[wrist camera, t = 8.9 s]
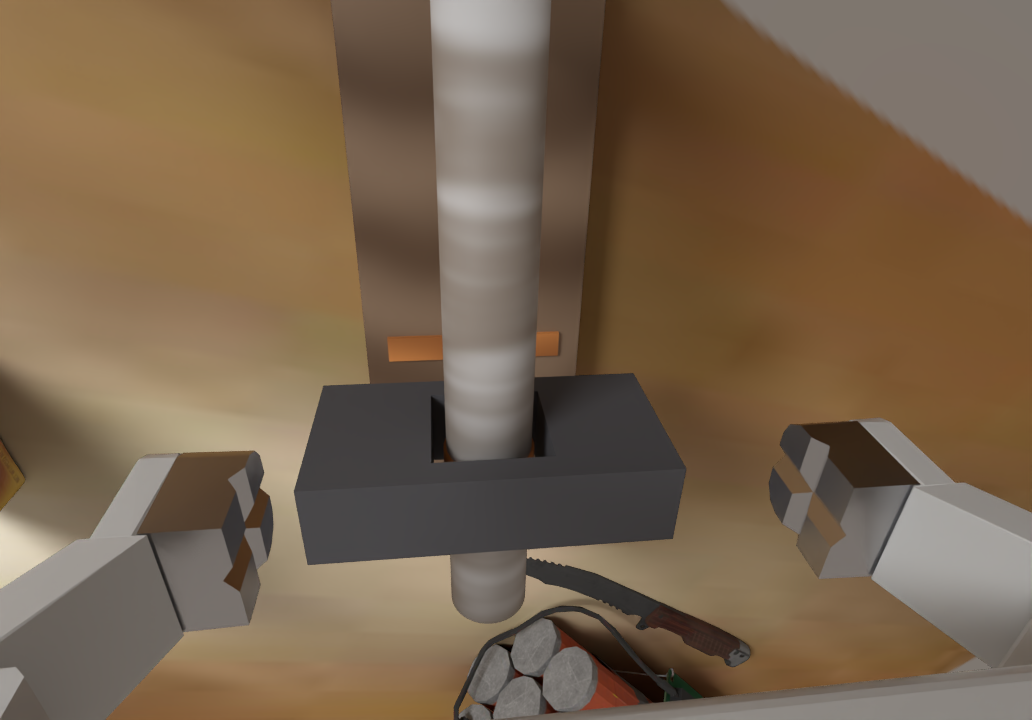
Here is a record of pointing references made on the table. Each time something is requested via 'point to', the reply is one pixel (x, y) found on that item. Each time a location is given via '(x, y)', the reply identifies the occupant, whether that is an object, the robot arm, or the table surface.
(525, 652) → the simulated explosive device
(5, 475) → the candy box
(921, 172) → the table surface
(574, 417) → the collar
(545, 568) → the knife
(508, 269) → the rod stand
